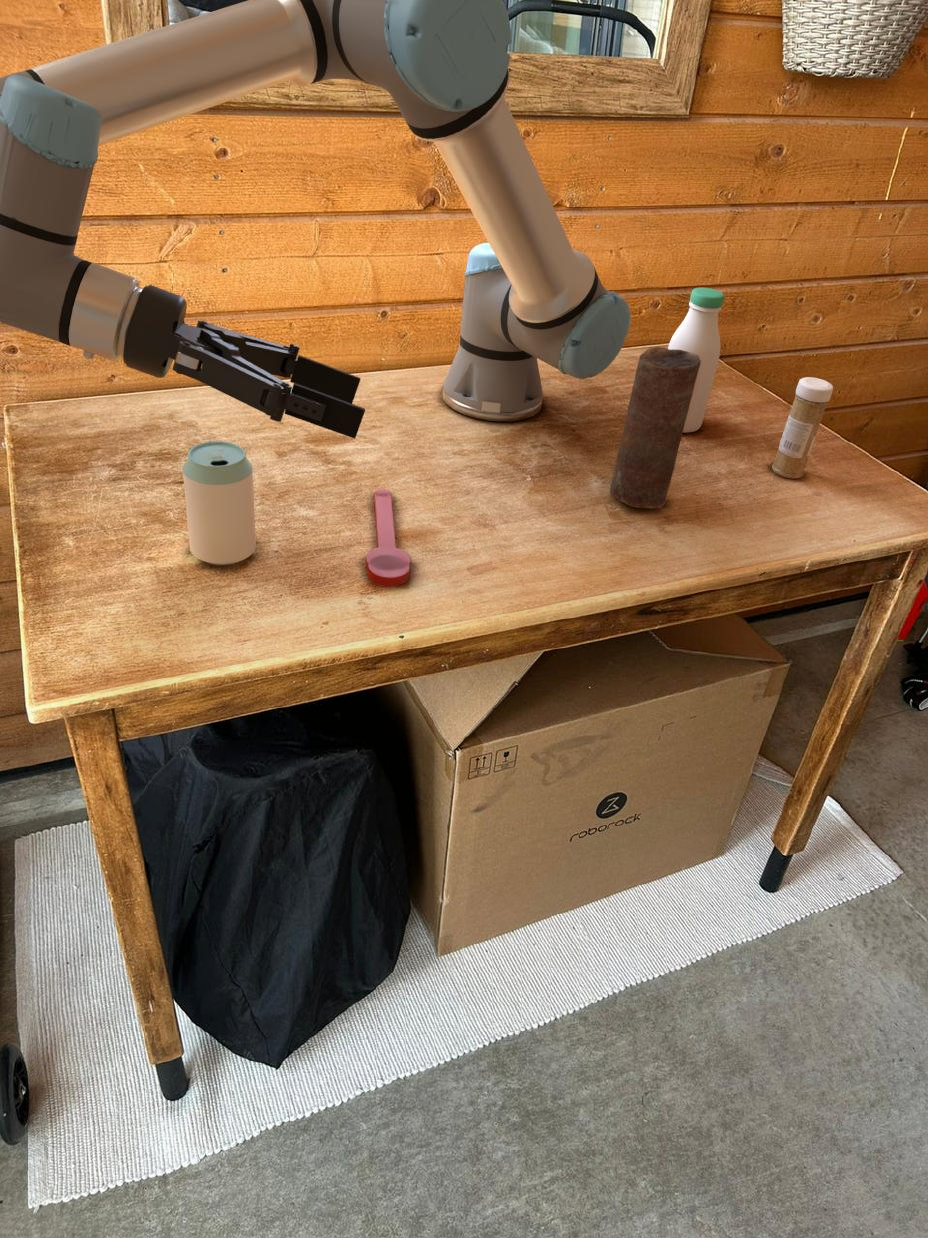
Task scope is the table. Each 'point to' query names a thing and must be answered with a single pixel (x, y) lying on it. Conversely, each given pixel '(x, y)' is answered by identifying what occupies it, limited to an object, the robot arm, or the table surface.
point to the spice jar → (802, 427)
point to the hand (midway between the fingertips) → (358, 406)
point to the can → (219, 503)
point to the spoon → (386, 547)
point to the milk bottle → (700, 348)
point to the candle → (654, 426)
